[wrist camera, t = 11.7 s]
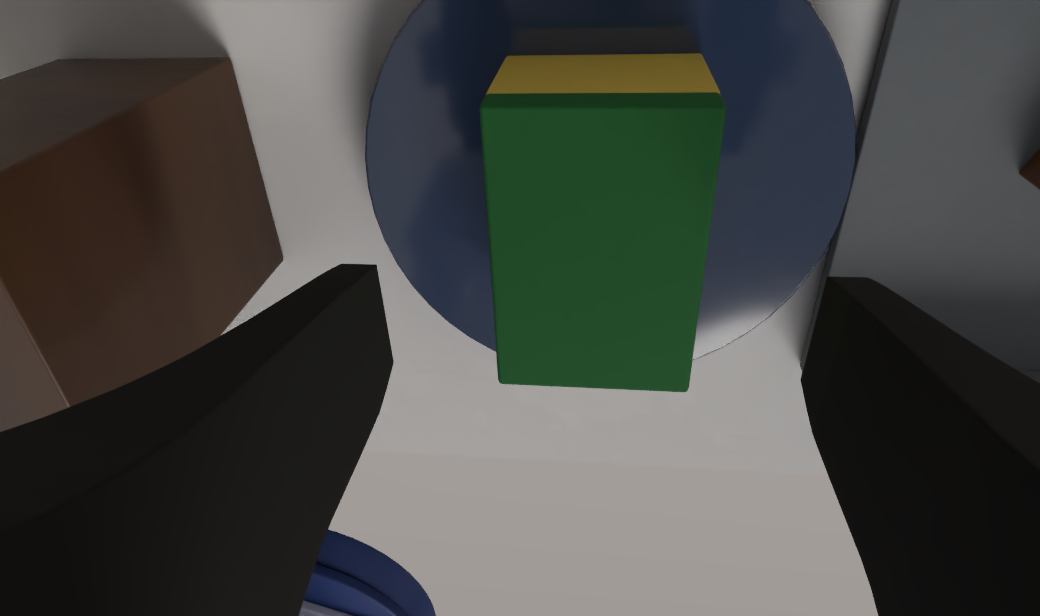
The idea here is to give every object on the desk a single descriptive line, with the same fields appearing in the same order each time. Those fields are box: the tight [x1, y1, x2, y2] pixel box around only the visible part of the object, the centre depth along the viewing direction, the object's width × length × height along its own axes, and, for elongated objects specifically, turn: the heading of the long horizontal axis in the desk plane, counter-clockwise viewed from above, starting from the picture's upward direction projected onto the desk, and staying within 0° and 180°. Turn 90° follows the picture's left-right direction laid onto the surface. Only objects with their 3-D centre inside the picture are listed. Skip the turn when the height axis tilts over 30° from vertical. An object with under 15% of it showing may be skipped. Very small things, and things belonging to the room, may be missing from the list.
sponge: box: [479, 53, 726, 392], centre depth 14 cm, size 4×6×4 cm, turn 2°
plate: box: [365, 0, 856, 360], centre depth 16 cm, size 11×11×1 cm
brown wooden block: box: [0, 58, 283, 432], centre depth 14 cm, size 4×6×8 cm
